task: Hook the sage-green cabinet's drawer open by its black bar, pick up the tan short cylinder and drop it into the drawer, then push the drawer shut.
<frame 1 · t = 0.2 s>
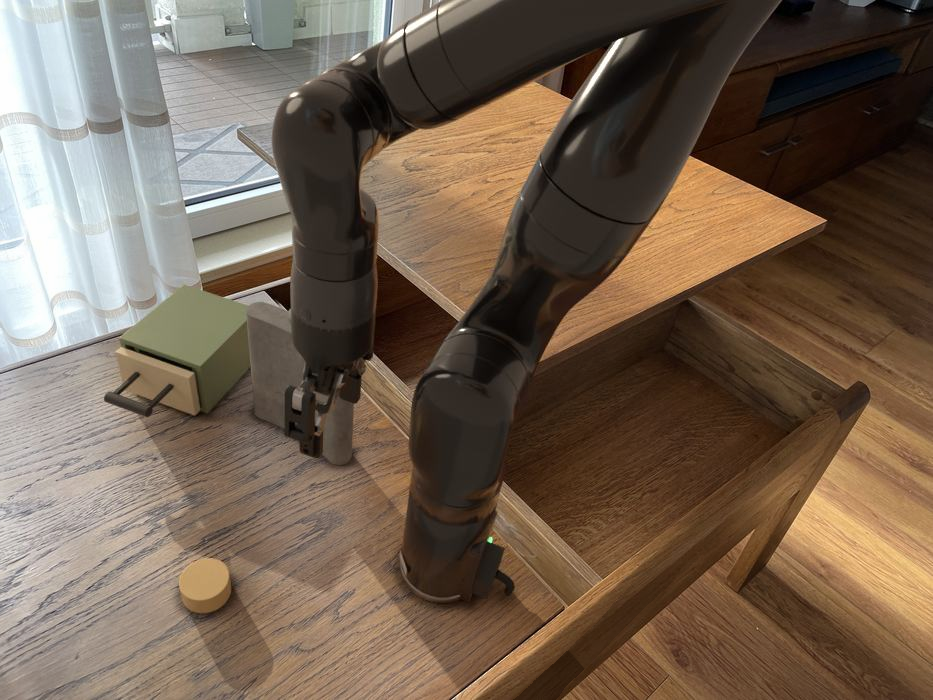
hand: (331, 425, 74), 17 cm above the table, tool pointing down, fingers open, 8 cm apart
hip flask: (304, 432, 96), on the table
drawer: (172, 368, 95), point 4 cm above the table, slide at 0.5 cm
cabinet: (198, 369, 102), on the table
tan short cylinder: (206, 591, 77), on the table
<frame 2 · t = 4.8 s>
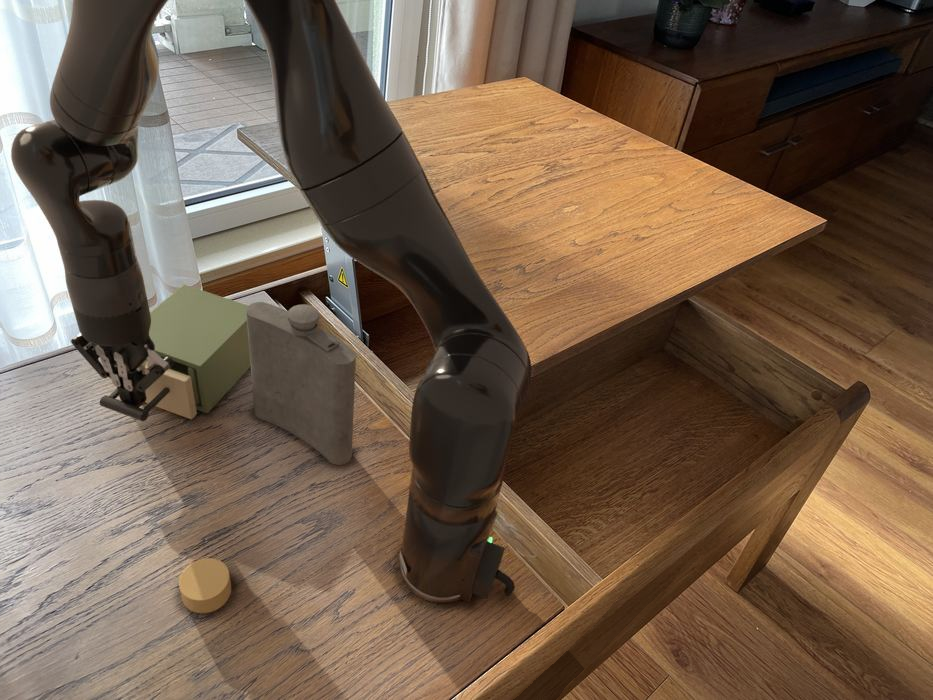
hand: (134, 404, 90), 4 cm above the table, tool pointing down, fingers closed
drawer: (168, 372, 95), point 4 cm above the table, slide at 1.3 cm
everything else where it was.
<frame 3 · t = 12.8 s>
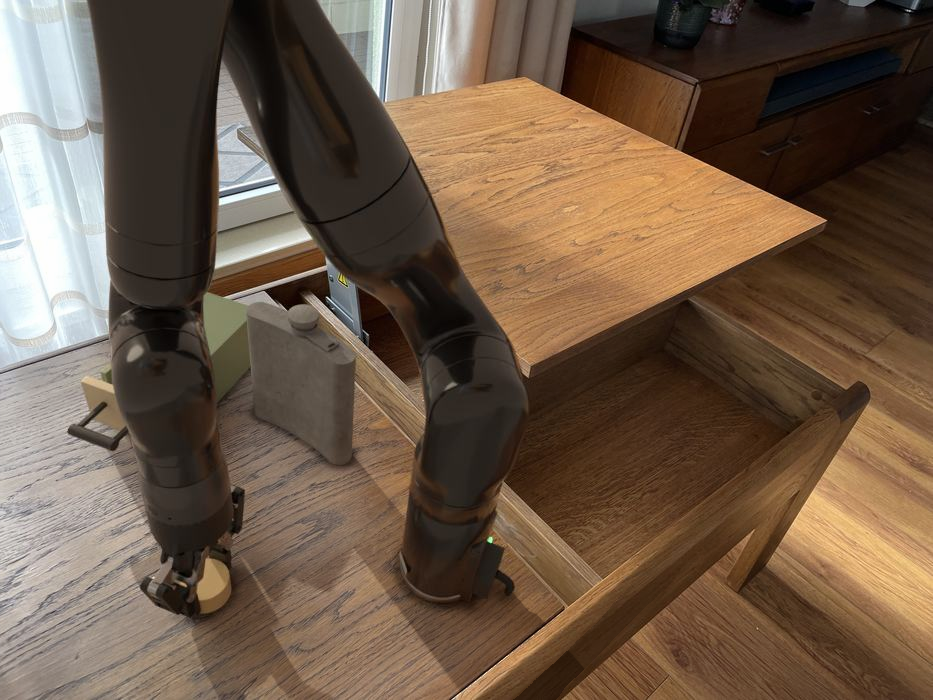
hand: (206, 588, 76), 1 cm above the table, tool pointing down, fingers closed on tan short cylinder, 5 cm apart
drawer: (141, 397, 91), point 4 cm above the table, slide at 6.6 cm
tan short cylinder: (207, 592, 77), on the table, touching gripper
everything else where it was.
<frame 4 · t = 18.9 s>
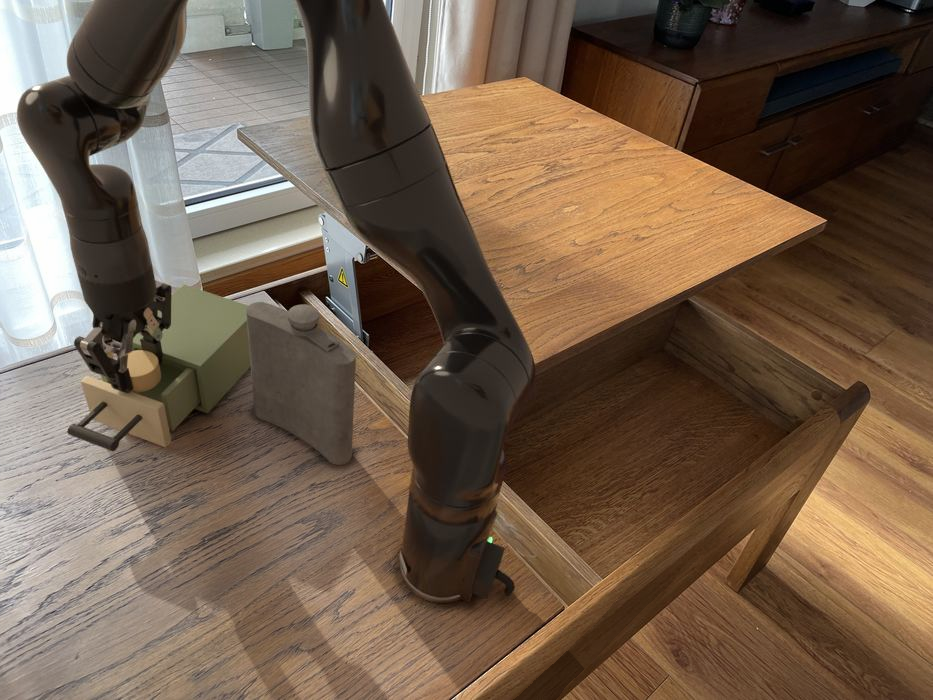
hand: (139, 375, 89), 8 cm above the table, tool pointing down, fingers closed on tan short cylinder, 5 cm apart
tan short cylinder: (139, 378, 89), point 7 cm above the table, touching gripper
everything else where it was.
when the fingers open (10 cm above the table, at t = 33.7 s): tan short cylinder drops 8 cm, resting on drawer.
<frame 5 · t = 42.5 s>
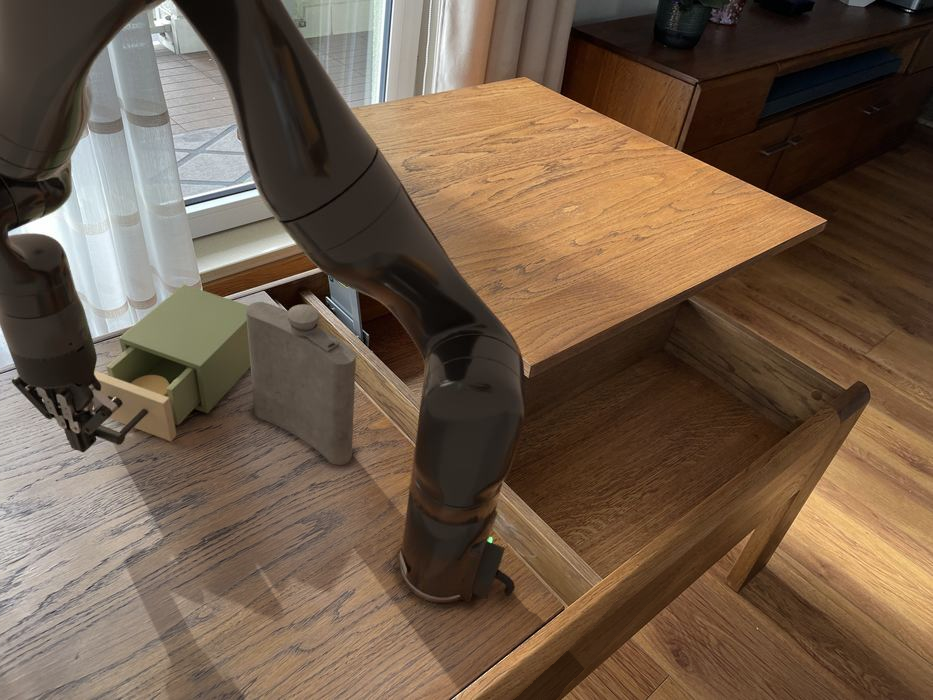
hand: (84, 445, 84), 4 cm above the table, tool pointing down, fingers closed
drawer: (147, 392, 91), point 4 cm above the table, slide at 5.5 cm, touching tan short cylinder, gripper
tan short cylinder: (151, 402, 93), point 2 cm above the table, touching drawer
everything else where it was.
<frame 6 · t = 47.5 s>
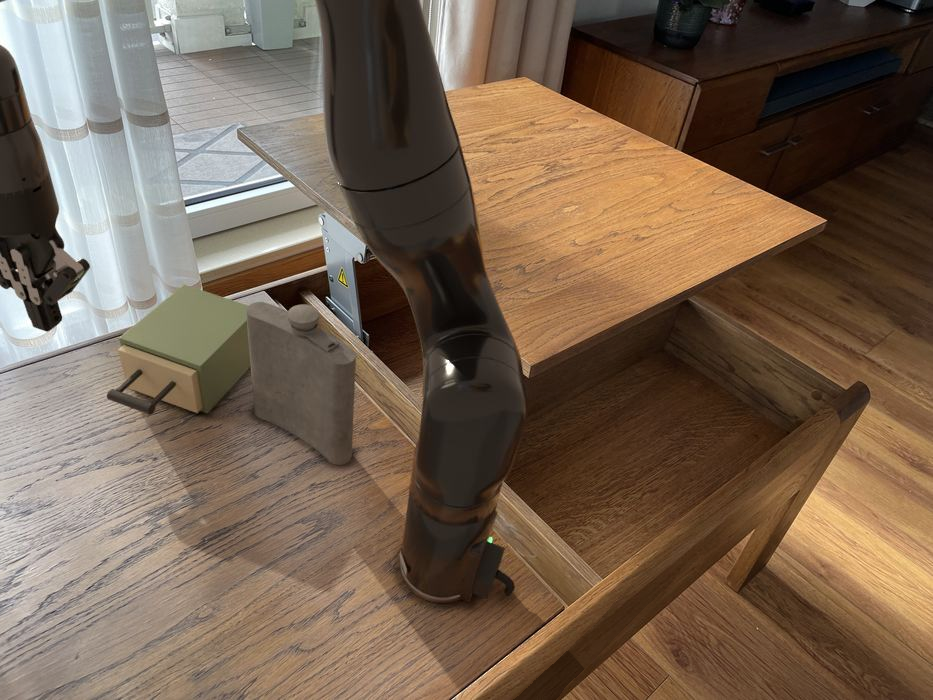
hand: (48, 325, 73), 22 cm above the table, tool pointing down, fingers closed
drawer: (174, 366, 96), point 4 cm above the table, slide at 0.0 cm, touching cabinet, tan short cylinder
tan short cylinder: (178, 376, 98), point 2 cm above the table, touching drawer
everything else where it was.
at the end: drawer pulled out 6.6 cm at the most during the clip, back to where it started at the end; tan short cylinder inside the target area in the cabinet (3.9 cm from its centre), point 2.0 cm above the cabinet's base; drawer slide at 0.0 cm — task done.
